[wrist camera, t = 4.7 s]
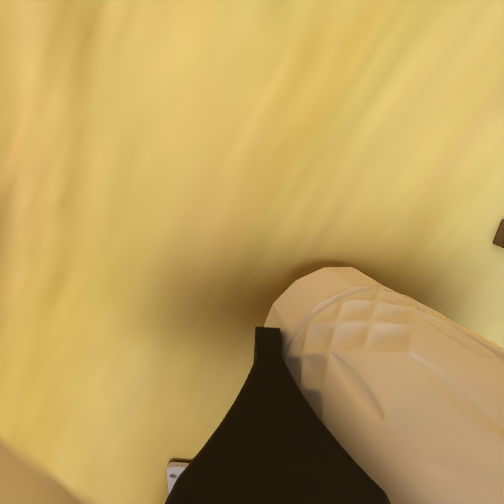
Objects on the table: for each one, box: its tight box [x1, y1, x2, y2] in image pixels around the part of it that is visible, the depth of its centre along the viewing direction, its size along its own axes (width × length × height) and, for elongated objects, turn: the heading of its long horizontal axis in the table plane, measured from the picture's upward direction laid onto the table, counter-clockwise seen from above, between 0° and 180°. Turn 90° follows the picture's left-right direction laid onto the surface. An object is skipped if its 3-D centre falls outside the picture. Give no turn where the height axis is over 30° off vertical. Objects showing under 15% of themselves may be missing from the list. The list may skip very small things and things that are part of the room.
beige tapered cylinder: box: [263, 267, 504, 504], centre depth 10 cm, size 8×8×10 cm
